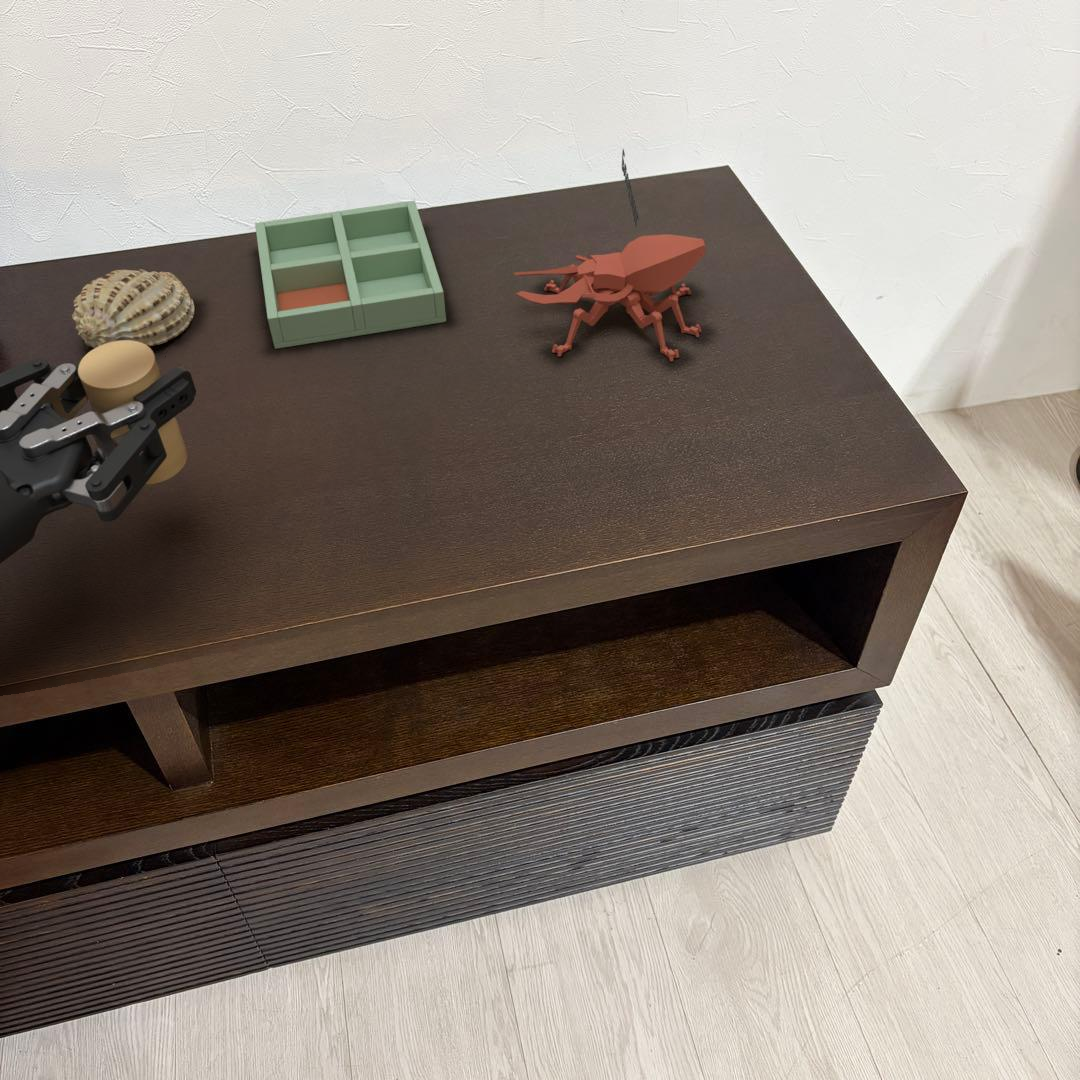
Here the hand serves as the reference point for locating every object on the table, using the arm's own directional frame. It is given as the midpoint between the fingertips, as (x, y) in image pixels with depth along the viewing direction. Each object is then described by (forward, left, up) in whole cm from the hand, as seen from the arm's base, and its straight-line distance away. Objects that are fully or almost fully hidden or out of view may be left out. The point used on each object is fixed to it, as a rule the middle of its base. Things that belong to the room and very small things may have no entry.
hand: (159, 365), depth 67 cm
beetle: (+4, +35, -13) cm, 38 cm away
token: (+1, -3, -6) cm, 7 cm away
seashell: (-21, +6, -13) cm, 25 cm away
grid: (-14, +22, -12) cm, 29 cm away
